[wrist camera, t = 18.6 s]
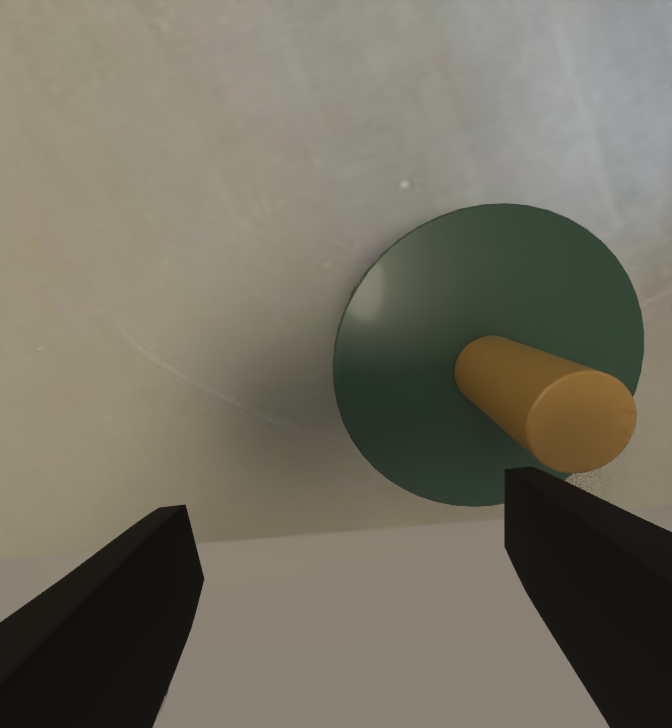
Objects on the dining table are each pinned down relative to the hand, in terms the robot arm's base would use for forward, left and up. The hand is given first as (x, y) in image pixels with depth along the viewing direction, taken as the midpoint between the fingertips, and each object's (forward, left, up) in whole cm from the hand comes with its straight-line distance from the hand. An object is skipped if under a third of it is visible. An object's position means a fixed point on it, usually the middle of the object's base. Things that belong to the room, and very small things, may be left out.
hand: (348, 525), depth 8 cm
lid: (+2, -5, -6) cm, 8 cm away
